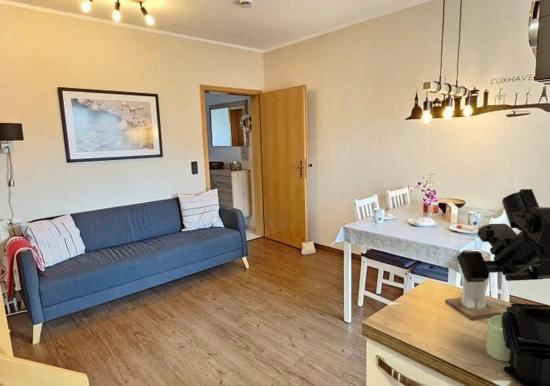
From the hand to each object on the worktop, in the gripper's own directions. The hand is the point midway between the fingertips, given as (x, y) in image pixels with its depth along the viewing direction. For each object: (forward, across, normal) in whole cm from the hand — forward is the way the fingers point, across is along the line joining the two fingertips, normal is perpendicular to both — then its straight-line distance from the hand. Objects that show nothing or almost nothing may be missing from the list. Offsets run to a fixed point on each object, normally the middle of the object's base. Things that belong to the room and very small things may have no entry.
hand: (486, 279), depth 81 cm
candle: (+4, +2, +16) cm, 16 cm away
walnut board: (+18, -4, +1) cm, 18 cm away
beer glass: (+17, -4, +1) cm, 18 cm away
